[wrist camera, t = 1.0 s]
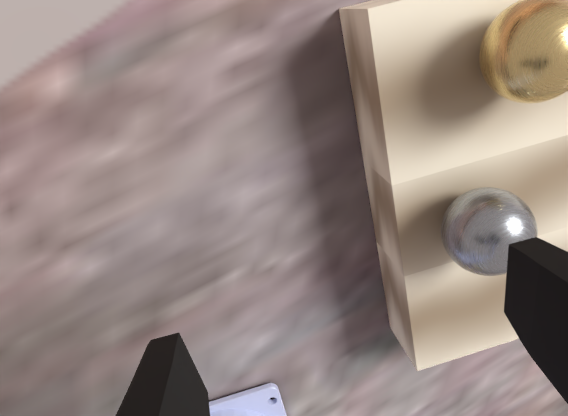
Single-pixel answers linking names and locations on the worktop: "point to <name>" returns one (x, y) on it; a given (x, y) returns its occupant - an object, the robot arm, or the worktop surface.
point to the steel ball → (486, 229)
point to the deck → (445, 163)
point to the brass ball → (527, 51)
